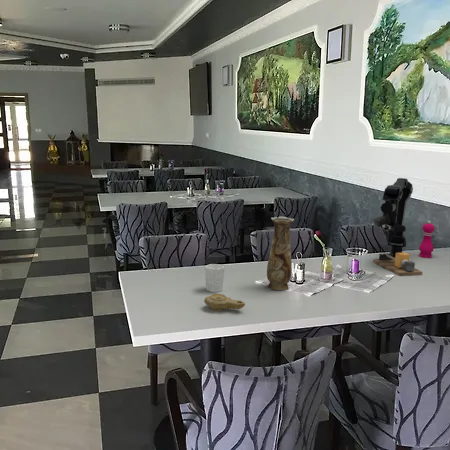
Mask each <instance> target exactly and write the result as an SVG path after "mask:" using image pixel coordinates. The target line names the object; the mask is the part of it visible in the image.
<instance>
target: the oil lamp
mask: <svg viewBox="0 0 450 450" xmlns="http://www.w3.org/2000/svg"><path fill="white" fill-rule="evenodd" d="M203 302H204V304H205V305H206V306H208V307H209V308H210V309H211V310H212V311H215V312H220V311H223V310H227V309H229V310H241V309H242V308H244V307H245V305H246V303H245V301H242V300H238V299H237V300H236V299H232V298H231V297H228V296H226V295H225V294H222V293H212V294H211V295H209V296H206V297H205V298H204V301H203Z"/></svg>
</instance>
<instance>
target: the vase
mask: <svg viewBox="0 0 450 450" xmlns="http://www.w3.org/2000/svg"><path fill="white" fill-rule="evenodd" d="M270 219H271V221H272V223H273V226H274V229H273V234H272V235H273V236H272V241H271V245H270V252H269V257H268V261H267V266H266V268H267V269H266V278H267V280H268V281H269V283H268V285H267V287H268V288H269V289H271V290H276V291H286V290H289V288H290V287H289V285H288V283H289V282H290V281H291V279H292V271H293V265H292V251H291V249H292V248H291V236H290V235H291V233H290V232H291V231H290V230H291V229H290V228H291V226H292V224H293V222H294V221H295V219H294V218H291V217H286V216H281V215H280V216H278V217H277V216H274V217H271V218H270Z"/></svg>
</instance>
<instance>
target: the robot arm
mask: <svg viewBox="0 0 450 450" xmlns="http://www.w3.org/2000/svg"><path fill="white" fill-rule="evenodd" d="M383 191H384V192H383V195H382V200H383V201H385V202H383V203H382V204H381V206H380V211H381V212H382V215H381V216H378V217H376V218H373V224H374V226H375V227H378V228H381V229H382V230H383V232H384V234H385V239H386V242H387V246H390V250H389V254H390V253H392V254H393V257H394V258H395V256H396V253H403V248H406V247H407V238H406V236H405V235H406V233H405V232H406V231H407V230H406V229H407V228H406V226H405V225H404V220H405V213H406V209H407V202H408V201H409V200H410V199H411V196H412V194H413V192H414V187H413V184H412V183H411V182H410V181H408V178H402V177H398V178H397V179H396V181H395V182H394V183H393V184H391V185H386V187H384V190H383Z"/></svg>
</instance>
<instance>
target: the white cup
mask: <svg viewBox="0 0 450 450" xmlns="http://www.w3.org/2000/svg"><path fill="white" fill-rule="evenodd" d="M204 267H205V269H204V270H205V271H204V272H205V273H204V274H205V284H206V285H205V288H206V291H207V292H211V293H219V292H222V291H223V287H224V277H225V276H224V275H225V266H224V265H223V264H218V263H210V264H207V265H205V266H204Z"/></svg>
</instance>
